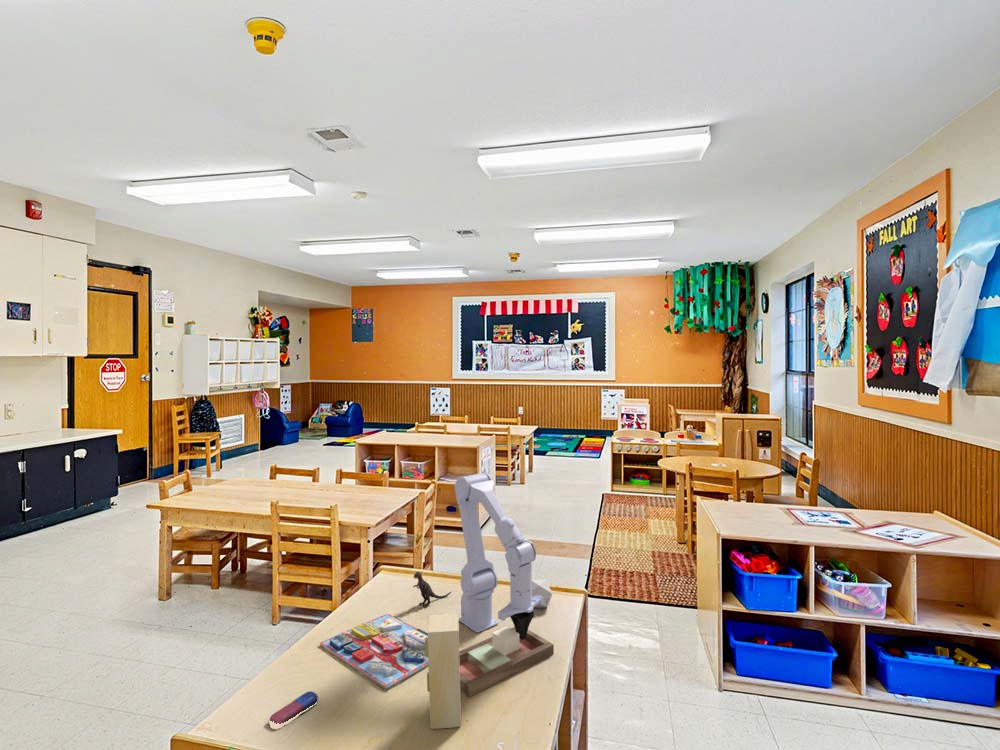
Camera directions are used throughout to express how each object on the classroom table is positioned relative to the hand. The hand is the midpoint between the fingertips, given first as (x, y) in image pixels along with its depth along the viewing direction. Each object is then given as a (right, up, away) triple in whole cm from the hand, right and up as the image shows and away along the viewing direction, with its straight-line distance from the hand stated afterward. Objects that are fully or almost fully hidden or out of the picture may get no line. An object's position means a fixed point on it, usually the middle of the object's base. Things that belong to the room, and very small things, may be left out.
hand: (521, 637), depth 142 cm
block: (-4, -1, -3) cm, 5 cm away
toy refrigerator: (-18, -5, -25) cm, 32 cm away
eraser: (-52, -6, -24) cm, 57 cm away
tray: (-7, -4, -5) cm, 9 cm away
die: (+6, -3, +25) cm, 26 cm away
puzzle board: (-37, -5, +2) cm, 37 cm away
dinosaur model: (-27, -3, +29) cm, 40 cm away
